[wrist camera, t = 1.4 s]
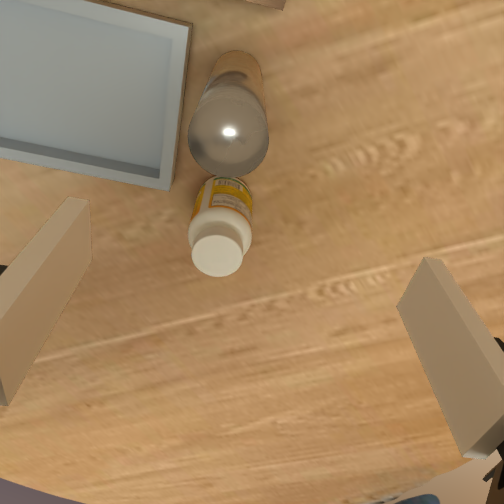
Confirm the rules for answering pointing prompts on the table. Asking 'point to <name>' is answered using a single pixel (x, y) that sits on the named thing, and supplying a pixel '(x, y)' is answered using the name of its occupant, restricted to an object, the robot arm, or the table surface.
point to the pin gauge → (230, 118)
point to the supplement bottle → (221, 226)
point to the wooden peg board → (270, 3)
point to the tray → (92, 88)
